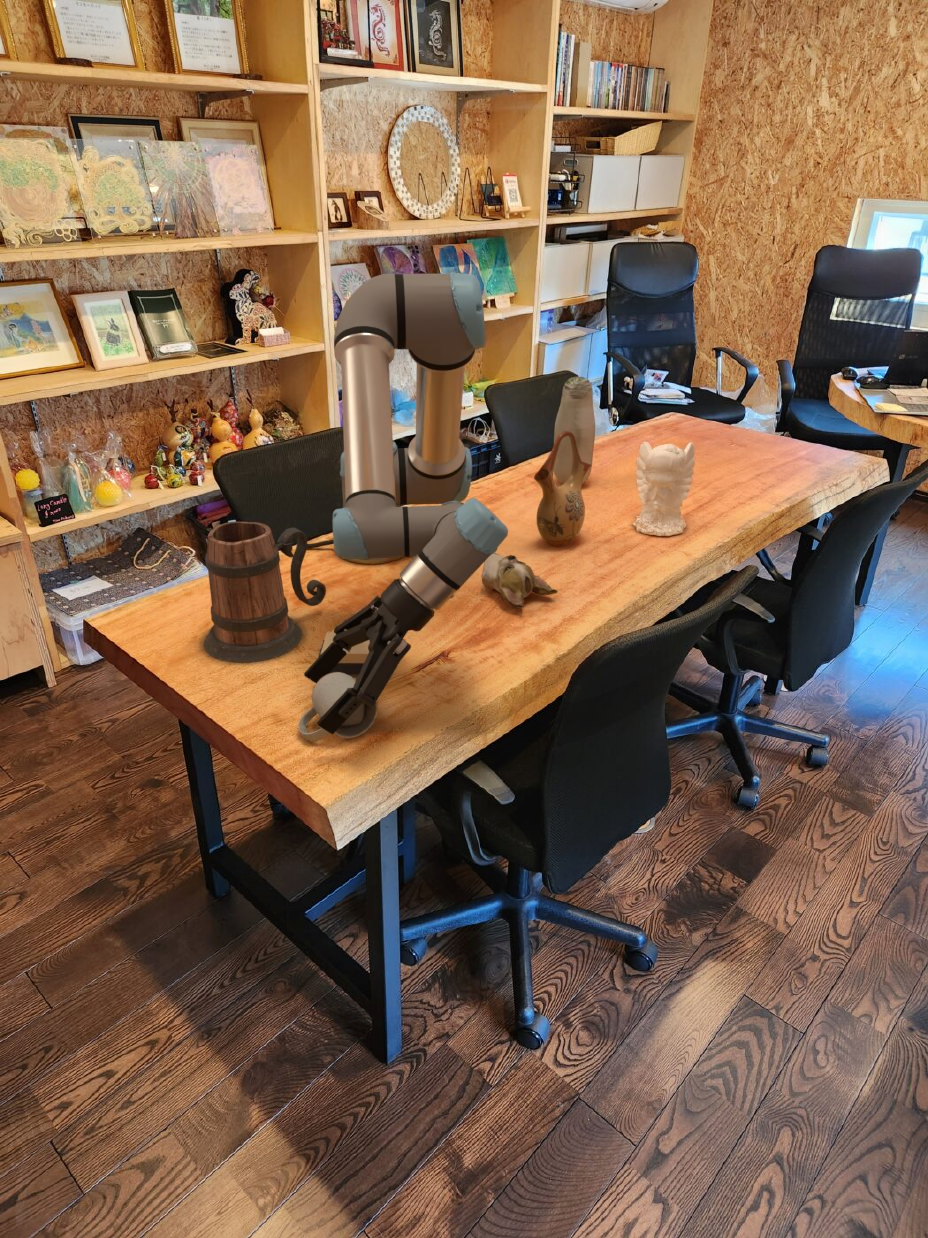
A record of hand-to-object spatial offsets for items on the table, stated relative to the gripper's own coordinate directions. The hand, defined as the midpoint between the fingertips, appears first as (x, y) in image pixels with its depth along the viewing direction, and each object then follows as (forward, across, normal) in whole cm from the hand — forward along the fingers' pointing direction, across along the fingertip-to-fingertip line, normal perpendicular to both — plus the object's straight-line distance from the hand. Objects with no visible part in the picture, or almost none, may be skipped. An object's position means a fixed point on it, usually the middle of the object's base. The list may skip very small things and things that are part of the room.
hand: (317, 702), depth 118 cm
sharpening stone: (-3, +17, -9) cm, 20 cm away
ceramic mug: (+2, 0, -5) cm, 5 cm away
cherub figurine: (-58, +57, -65) cm, 104 cm away
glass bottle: (-53, +91, -60) cm, 121 cm away
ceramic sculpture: (-26, +33, -33) cm, 54 cm away
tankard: (+6, +32, 0) cm, 33 cm away
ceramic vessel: (-40, +55, -47) cm, 83 cm away
